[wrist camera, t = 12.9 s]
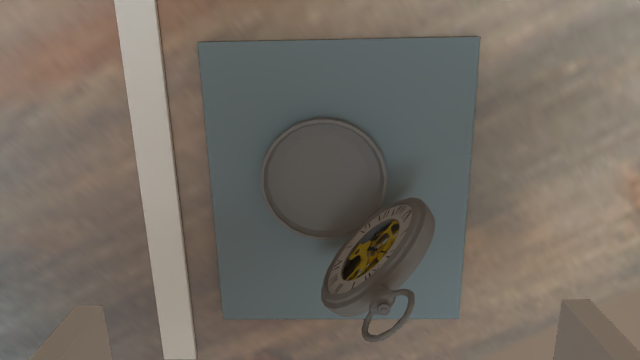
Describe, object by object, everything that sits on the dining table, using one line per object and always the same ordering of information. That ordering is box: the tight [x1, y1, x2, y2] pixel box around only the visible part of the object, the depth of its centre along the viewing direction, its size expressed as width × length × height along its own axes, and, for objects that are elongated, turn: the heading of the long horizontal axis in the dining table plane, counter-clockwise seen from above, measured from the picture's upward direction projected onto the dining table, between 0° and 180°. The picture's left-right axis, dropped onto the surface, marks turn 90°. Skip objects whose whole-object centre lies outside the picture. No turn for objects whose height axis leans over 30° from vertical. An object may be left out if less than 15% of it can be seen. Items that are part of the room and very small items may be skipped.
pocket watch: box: [261, 118, 435, 342], centre depth 22 cm, size 8×8×10 cm
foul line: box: [114, 0, 197, 359], centre depth 27 cm, size 2×22×1 cm, turn 1°
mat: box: [198, 37, 480, 319], centre depth 27 cm, size 14×16×1 cm
